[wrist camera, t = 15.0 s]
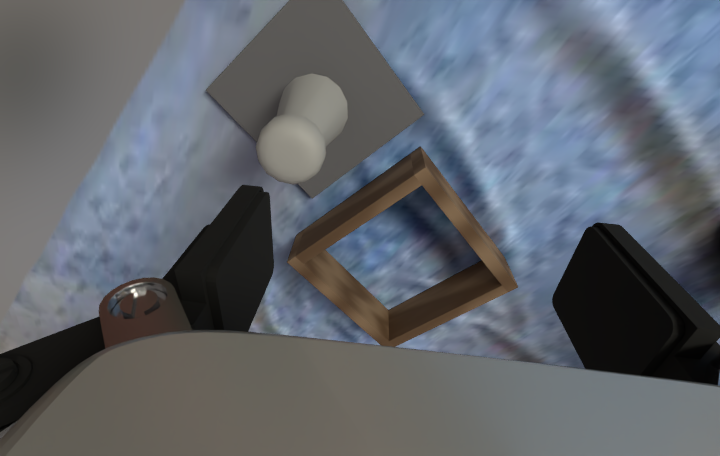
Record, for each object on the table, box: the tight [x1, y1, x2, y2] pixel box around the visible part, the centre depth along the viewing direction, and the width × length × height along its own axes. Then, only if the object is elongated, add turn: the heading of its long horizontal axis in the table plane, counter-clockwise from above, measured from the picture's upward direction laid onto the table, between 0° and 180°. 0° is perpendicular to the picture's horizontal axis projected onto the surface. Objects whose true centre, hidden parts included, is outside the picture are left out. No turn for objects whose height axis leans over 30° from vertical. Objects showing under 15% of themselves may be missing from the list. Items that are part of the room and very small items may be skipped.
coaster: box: [206, 0, 424, 198], centre depth 33 cm, size 14×14×1 cm
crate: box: [287, 146, 518, 347], centre depth 40 cm, size 17×17×5 cm
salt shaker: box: [256, 73, 348, 184], centre depth 28 cm, size 6×6×13 cm
